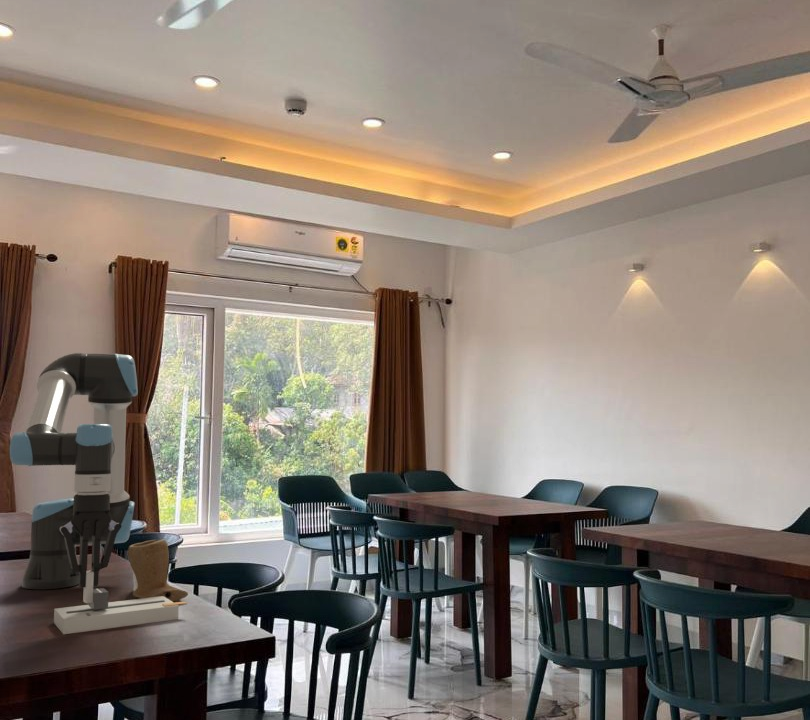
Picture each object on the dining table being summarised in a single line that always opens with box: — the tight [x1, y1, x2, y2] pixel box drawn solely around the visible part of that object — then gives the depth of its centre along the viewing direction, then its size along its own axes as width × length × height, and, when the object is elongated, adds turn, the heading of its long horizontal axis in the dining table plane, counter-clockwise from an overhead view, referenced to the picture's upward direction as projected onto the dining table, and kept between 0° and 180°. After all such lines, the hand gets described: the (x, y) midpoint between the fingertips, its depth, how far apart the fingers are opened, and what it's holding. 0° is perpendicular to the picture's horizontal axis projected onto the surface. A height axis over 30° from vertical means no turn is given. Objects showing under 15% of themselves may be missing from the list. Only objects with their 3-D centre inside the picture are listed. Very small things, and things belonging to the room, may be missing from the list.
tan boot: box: [127, 538, 189, 603], centre depth 193 cm, size 15×12×15 cm
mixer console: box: [53, 596, 187, 635], centre depth 172 cm, size 12×26×3 cm, turn 124°
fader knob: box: [88, 587, 110, 610], centre depth 169 cm, size 5×3×4 cm, turn 34°
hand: (87, 601), depth 168 cm, fingers closed
